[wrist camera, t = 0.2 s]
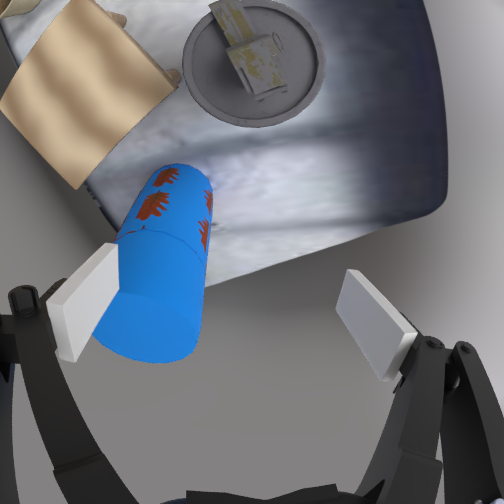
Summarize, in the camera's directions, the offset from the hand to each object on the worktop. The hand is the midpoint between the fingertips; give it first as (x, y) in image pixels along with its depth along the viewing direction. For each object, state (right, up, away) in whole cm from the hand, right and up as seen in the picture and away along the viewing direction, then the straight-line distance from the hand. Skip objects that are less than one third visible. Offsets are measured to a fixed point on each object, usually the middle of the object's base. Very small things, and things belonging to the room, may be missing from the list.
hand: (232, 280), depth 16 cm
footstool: (-18, +25, +15) cm, 34 cm away
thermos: (-10, +10, +27) cm, 31 cm away
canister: (0, +26, +15) cm, 30 cm away
